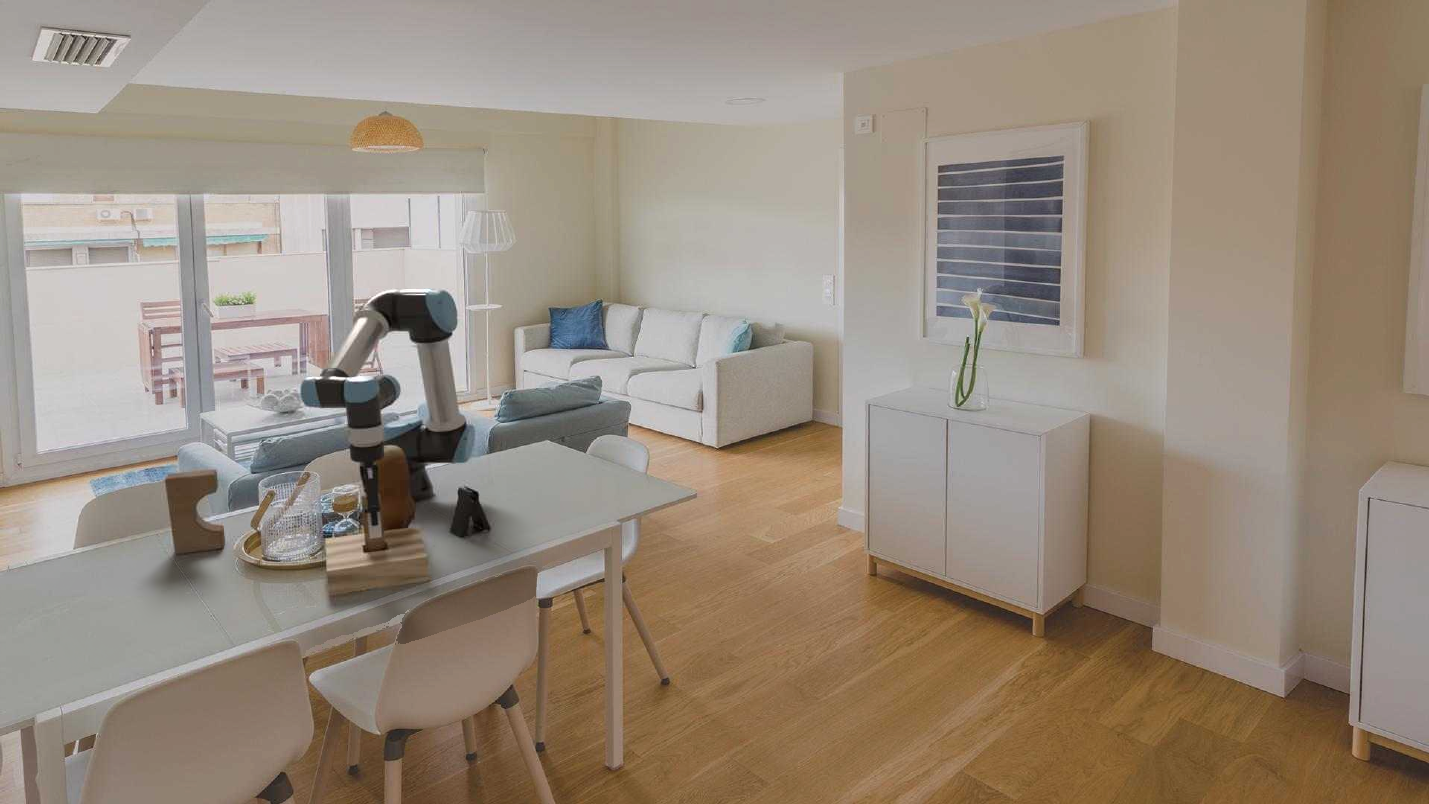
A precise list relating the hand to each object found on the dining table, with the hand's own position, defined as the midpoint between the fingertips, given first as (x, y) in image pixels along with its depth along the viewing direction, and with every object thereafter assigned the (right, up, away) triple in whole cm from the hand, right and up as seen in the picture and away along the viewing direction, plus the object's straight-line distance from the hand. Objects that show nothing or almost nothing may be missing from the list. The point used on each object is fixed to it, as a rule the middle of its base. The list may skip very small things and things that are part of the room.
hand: (374, 528), depth 224 cm
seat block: (0, -11, +2) cm, 11 cm away
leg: (0, -10, +2) cm, 10 cm away
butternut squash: (-4, -6, +24) cm, 25 cm away
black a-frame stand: (+16, -5, +29) cm, 33 cm away
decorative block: (-51, -8, +16) cm, 54 cm away
